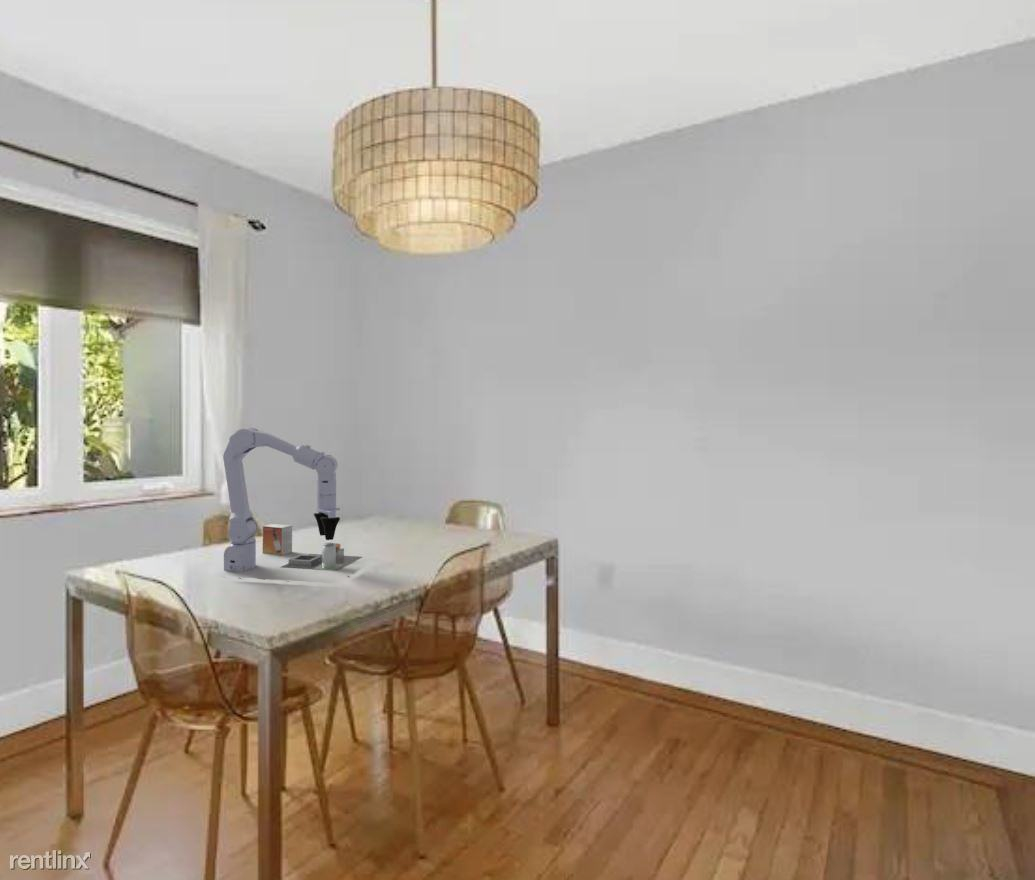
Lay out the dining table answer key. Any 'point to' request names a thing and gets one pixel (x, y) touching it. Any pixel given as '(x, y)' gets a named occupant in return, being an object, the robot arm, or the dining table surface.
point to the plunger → (337, 546)
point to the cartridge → (329, 555)
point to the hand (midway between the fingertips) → (326, 537)
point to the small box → (277, 539)
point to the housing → (320, 561)
